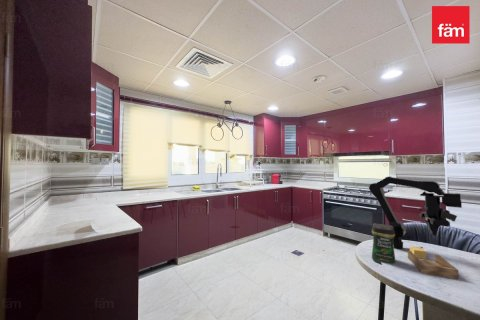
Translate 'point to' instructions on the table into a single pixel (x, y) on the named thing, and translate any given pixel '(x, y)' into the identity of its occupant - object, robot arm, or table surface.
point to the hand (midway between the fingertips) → (434, 235)
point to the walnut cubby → (434, 266)
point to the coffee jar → (383, 243)
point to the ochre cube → (418, 252)
